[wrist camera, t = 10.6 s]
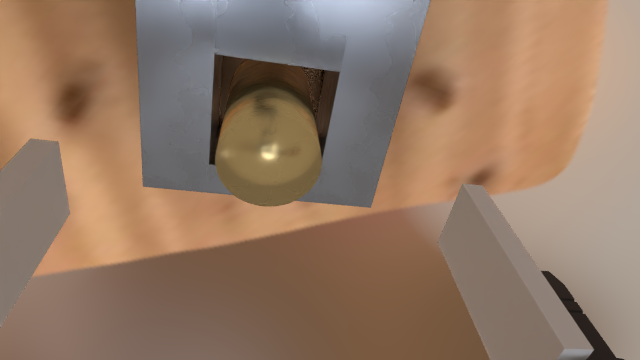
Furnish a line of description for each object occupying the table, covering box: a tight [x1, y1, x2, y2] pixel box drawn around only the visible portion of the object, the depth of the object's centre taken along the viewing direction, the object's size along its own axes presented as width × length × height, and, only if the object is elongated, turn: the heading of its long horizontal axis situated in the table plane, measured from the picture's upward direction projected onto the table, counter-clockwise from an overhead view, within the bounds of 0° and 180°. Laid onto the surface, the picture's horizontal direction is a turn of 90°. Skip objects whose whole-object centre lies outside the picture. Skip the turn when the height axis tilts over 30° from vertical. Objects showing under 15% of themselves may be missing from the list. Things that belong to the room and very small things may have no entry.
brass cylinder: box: [215, 59, 322, 206], centre depth 22 cm, size 4×4×8 cm
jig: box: [135, 0, 430, 208], centre depth 21 cm, size 18×12×4 cm, turn 170°
